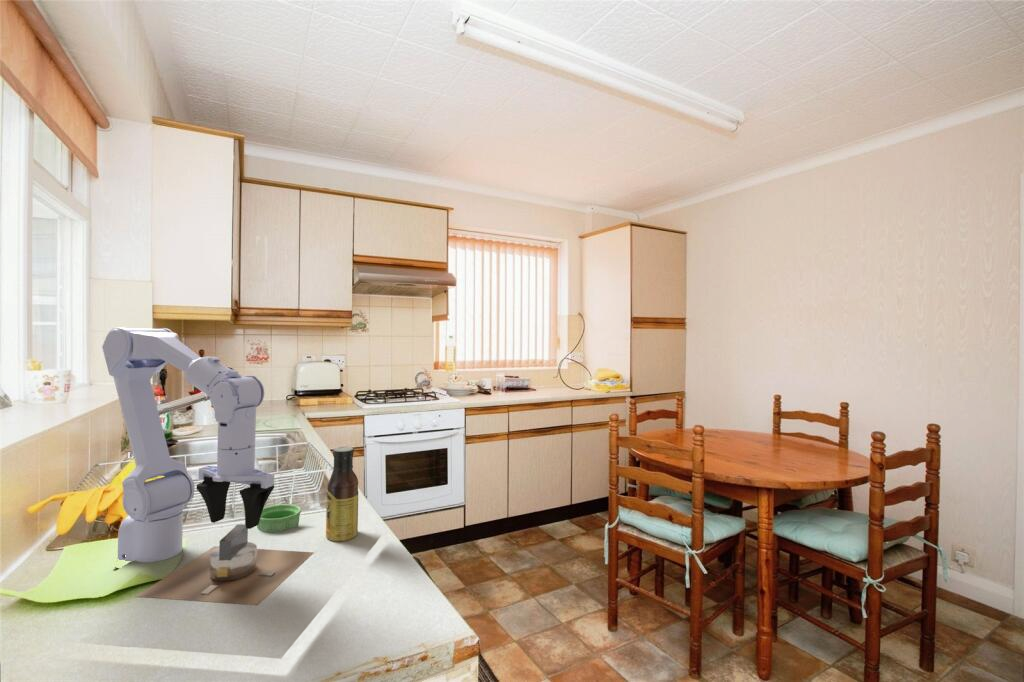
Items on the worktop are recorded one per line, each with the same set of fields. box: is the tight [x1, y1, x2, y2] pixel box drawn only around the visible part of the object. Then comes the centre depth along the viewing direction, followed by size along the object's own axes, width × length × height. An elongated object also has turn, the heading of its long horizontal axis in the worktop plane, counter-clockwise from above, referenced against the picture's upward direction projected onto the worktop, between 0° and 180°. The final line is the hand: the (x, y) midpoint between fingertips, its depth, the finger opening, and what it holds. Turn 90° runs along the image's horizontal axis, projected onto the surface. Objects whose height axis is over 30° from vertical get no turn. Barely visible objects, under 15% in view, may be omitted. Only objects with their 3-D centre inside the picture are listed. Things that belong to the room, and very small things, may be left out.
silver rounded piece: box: [210, 523, 258, 581], centre depth 83 cm, size 8×7×7 cm
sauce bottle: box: [325, 445, 359, 543], centre depth 100 cm, size 7×6×20 cm
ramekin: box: [256, 503, 302, 533], centre depth 105 cm, size 9×9×4 cm
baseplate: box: [135, 545, 315, 606], centre depth 84 cm, size 20×18×2 cm
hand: (234, 523), depth 84 cm, fingers open, 7 cm apart
